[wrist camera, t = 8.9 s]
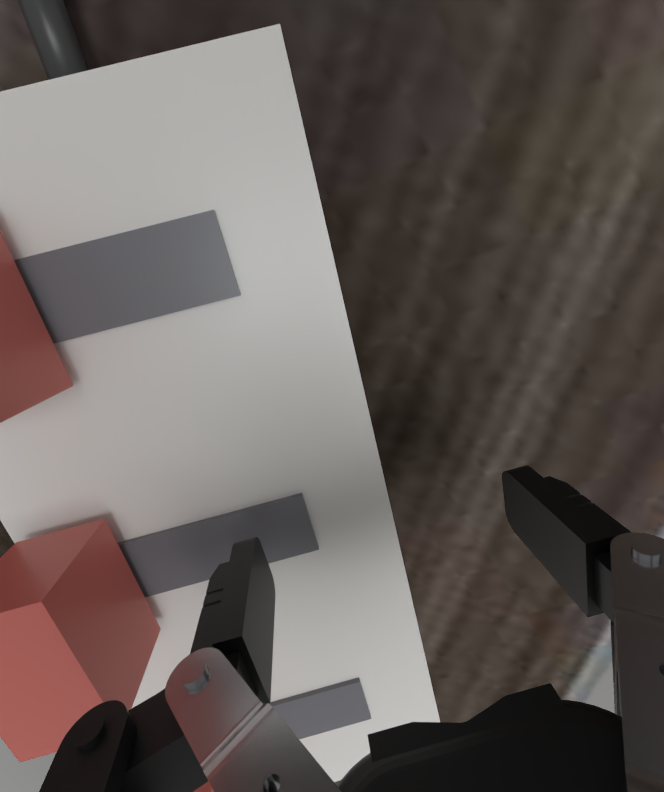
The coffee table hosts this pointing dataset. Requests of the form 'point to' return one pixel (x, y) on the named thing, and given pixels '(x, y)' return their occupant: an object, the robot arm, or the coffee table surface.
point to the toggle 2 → (67, 634)
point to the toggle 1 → (24, 346)
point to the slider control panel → (205, 367)
